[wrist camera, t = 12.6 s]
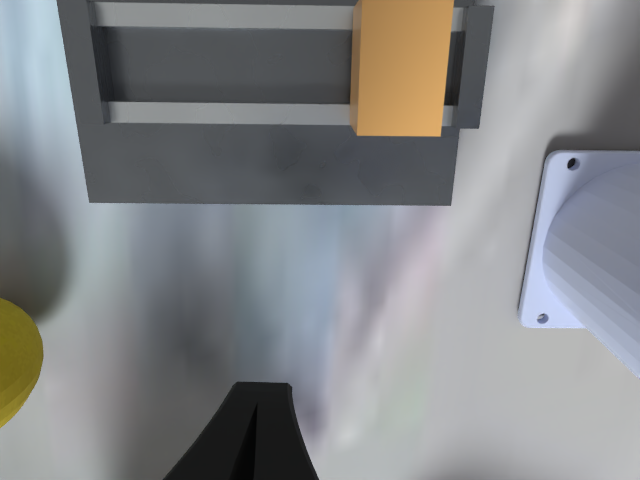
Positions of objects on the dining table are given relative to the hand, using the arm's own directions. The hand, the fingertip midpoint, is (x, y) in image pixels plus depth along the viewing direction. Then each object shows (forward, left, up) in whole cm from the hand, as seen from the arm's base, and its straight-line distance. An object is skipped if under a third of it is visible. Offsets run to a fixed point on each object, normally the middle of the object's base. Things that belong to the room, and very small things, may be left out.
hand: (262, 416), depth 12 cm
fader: (-4, -8, -8) cm, 12 cm away
